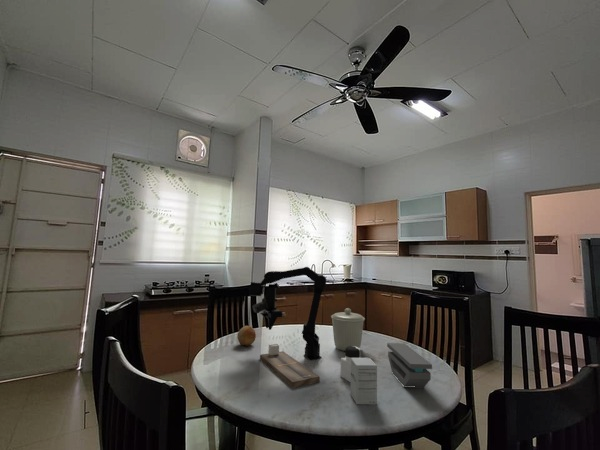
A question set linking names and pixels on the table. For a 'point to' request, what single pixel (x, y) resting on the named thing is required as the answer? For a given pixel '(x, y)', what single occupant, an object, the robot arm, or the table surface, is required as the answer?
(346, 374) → the medicine bottle
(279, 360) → the board
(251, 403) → the table surface
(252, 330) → the onion
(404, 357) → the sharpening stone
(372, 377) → the supplement box
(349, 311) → the canister
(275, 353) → the fader tab
